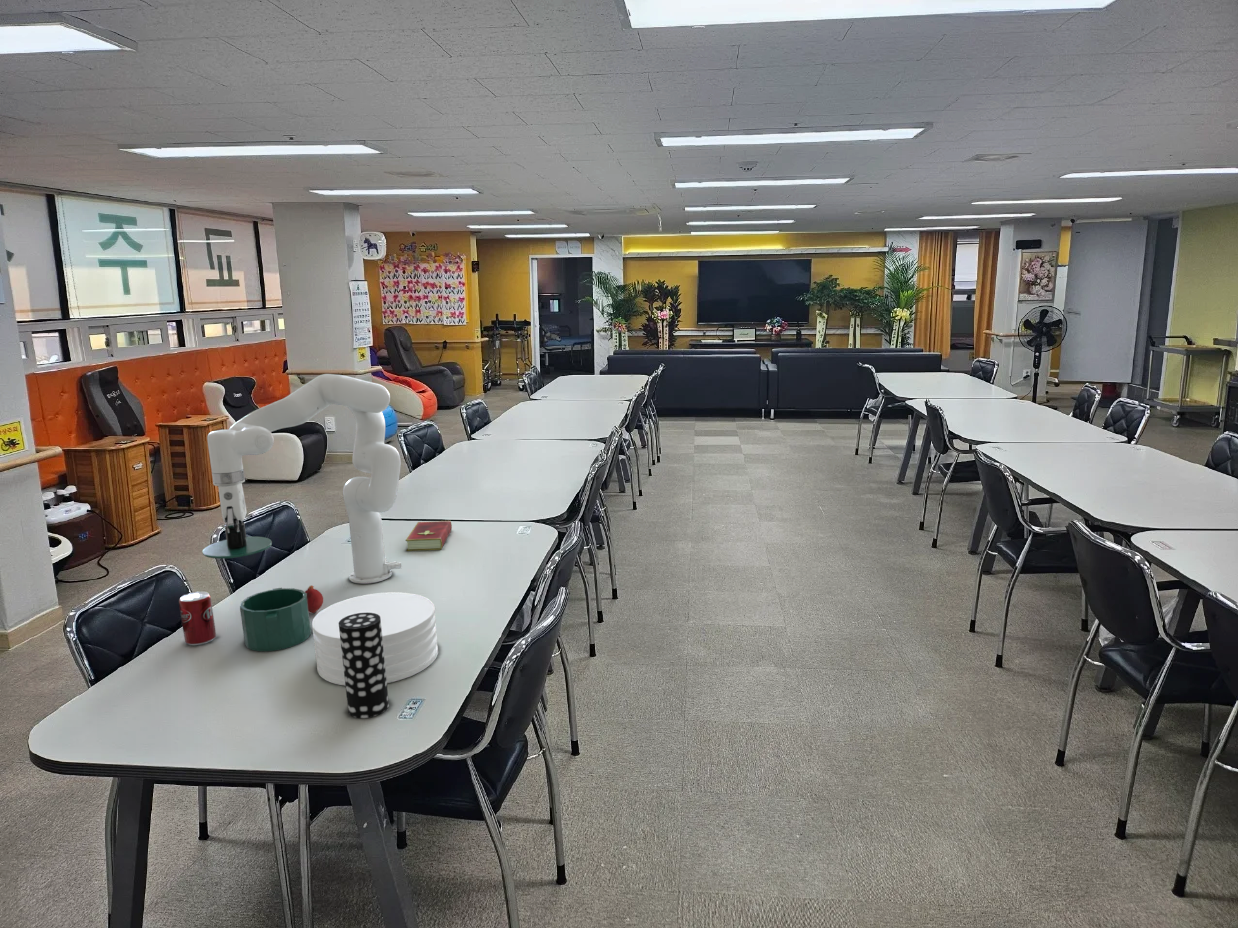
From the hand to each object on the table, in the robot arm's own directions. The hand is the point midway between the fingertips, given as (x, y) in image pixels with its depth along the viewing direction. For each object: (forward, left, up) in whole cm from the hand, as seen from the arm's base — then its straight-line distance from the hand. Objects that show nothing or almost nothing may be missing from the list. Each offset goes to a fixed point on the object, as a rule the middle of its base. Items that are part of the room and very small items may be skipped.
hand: (237, 543), depth 218 cm
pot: (-9, +16, -22) cm, 28 cm away
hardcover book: (-54, -52, -22) cm, 78 cm away
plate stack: (-33, +38, -22) cm, 55 cm away
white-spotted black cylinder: (-30, +62, -22) cm, 72 cm away
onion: (-17, +2, -22) cm, 28 cm away
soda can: (+10, +10, -22) cm, 26 cm away
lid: (0, 0, -1) cm, 1 cm away
